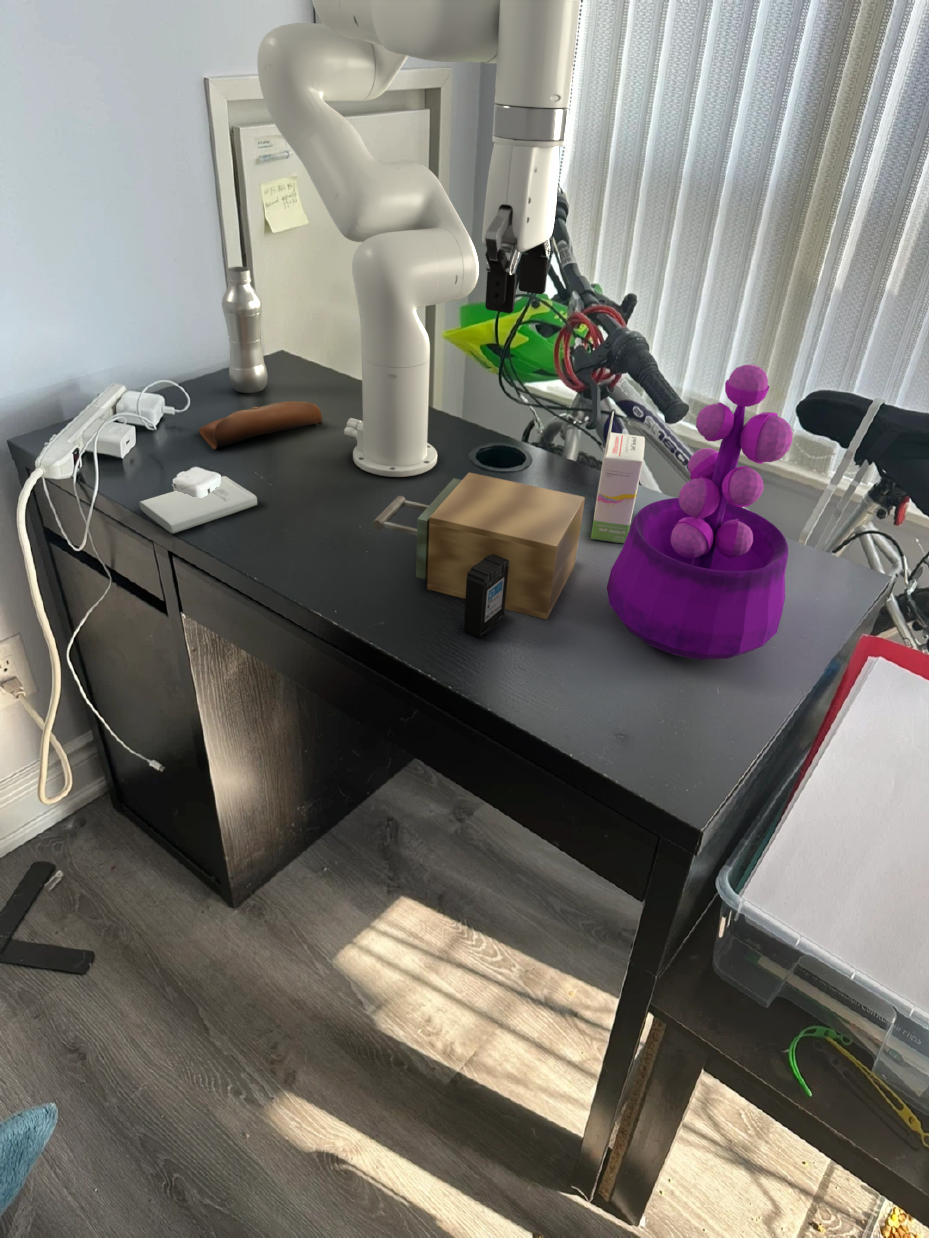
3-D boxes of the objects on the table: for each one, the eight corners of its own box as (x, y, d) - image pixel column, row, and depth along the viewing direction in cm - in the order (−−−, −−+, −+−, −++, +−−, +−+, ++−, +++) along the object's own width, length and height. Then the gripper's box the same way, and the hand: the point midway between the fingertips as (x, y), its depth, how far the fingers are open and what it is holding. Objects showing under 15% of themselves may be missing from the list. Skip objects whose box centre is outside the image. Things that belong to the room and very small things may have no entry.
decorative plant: (766, 598, 100) (845, 348, 83) (777, 696, 85) (876, 416, 68) (608, 572, 103) (653, 325, 86) (593, 662, 88) (643, 386, 71)
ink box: (628, 545, 109) (648, 439, 100) (589, 540, 110) (607, 433, 101) (630, 515, 116) (650, 413, 107) (594, 510, 116) (611, 408, 108)
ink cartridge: (480, 640, 90) (485, 578, 86) (462, 632, 91) (466, 570, 87) (504, 619, 94) (510, 558, 89) (487, 612, 95) (492, 551, 90)
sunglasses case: (297, 407, 139) (305, 380, 134) (316, 440, 138) (326, 414, 132) (193, 430, 130) (198, 401, 124) (213, 466, 128) (218, 438, 123)
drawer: (364, 564, 100) (363, 506, 96) (403, 522, 109) (404, 467, 104) (525, 604, 95) (532, 545, 90) (552, 557, 104) (559, 501, 99)
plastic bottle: (224, 395, 143) (210, 272, 132) (239, 382, 149) (227, 262, 137) (260, 399, 143) (249, 276, 131) (274, 386, 148) (265, 266, 137)
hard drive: (140, 511, 109) (224, 484, 117) (172, 536, 105) (257, 506, 112) (138, 500, 108) (223, 473, 116) (170, 524, 104) (256, 495, 111)
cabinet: (427, 589, 98) (429, 517, 92) (464, 540, 108) (468, 472, 102) (546, 620, 94) (556, 546, 89) (574, 566, 104) (585, 496, 98)
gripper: (526, 119, 93) (514, 281, 103) (460, 129, 80) (453, 313, 90) (591, 125, 91) (572, 290, 100) (534, 136, 77) (518, 325, 87)
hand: (516, 301), depth 95 cm, fingers open, 9 cm apart
